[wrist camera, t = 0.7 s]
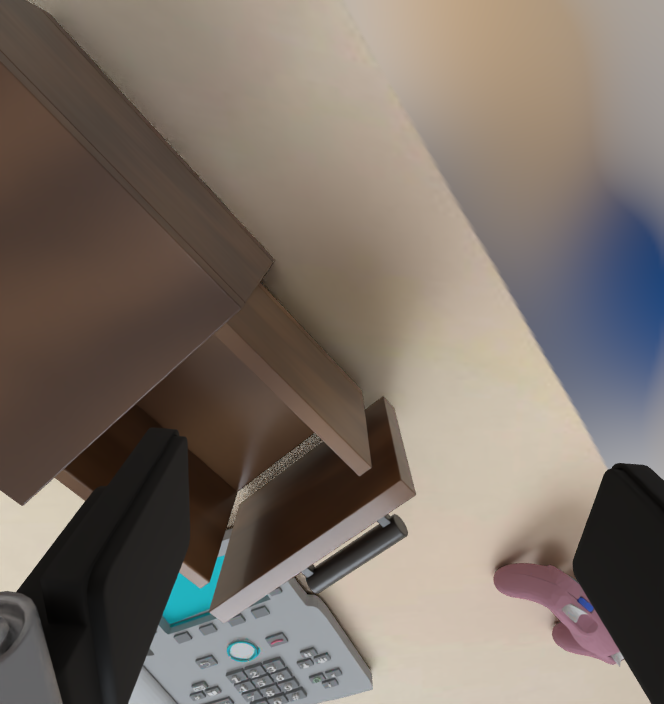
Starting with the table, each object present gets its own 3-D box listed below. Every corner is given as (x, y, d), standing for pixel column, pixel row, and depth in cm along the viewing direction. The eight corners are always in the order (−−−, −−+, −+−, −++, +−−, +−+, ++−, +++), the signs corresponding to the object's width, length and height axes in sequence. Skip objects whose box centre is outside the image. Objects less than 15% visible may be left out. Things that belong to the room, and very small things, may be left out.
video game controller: (582, 596, 40) (664, 649, 33) (553, 641, 39) (630, 705, 32) (516, 531, 37) (590, 574, 30) (483, 577, 36) (552, 632, 30)
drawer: (433, 449, 31) (468, 547, 23) (291, 548, 35) (277, 664, 27) (225, 226, 26) (175, 250, 18) (80, 367, 29) (-19, 443, 21)
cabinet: (275, 260, 28) (242, 308, 18) (121, 401, 31) (22, 506, 21) (48, 12, 23) (-165, -108, 13) (-102, 210, 27) (-358, 232, 17)
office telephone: (145, 769, 43) (3, 631, 36) (156, 736, 45) (25, 602, 38) (376, 705, 39) (264, 537, 32) (373, 673, 41) (269, 511, 34)
